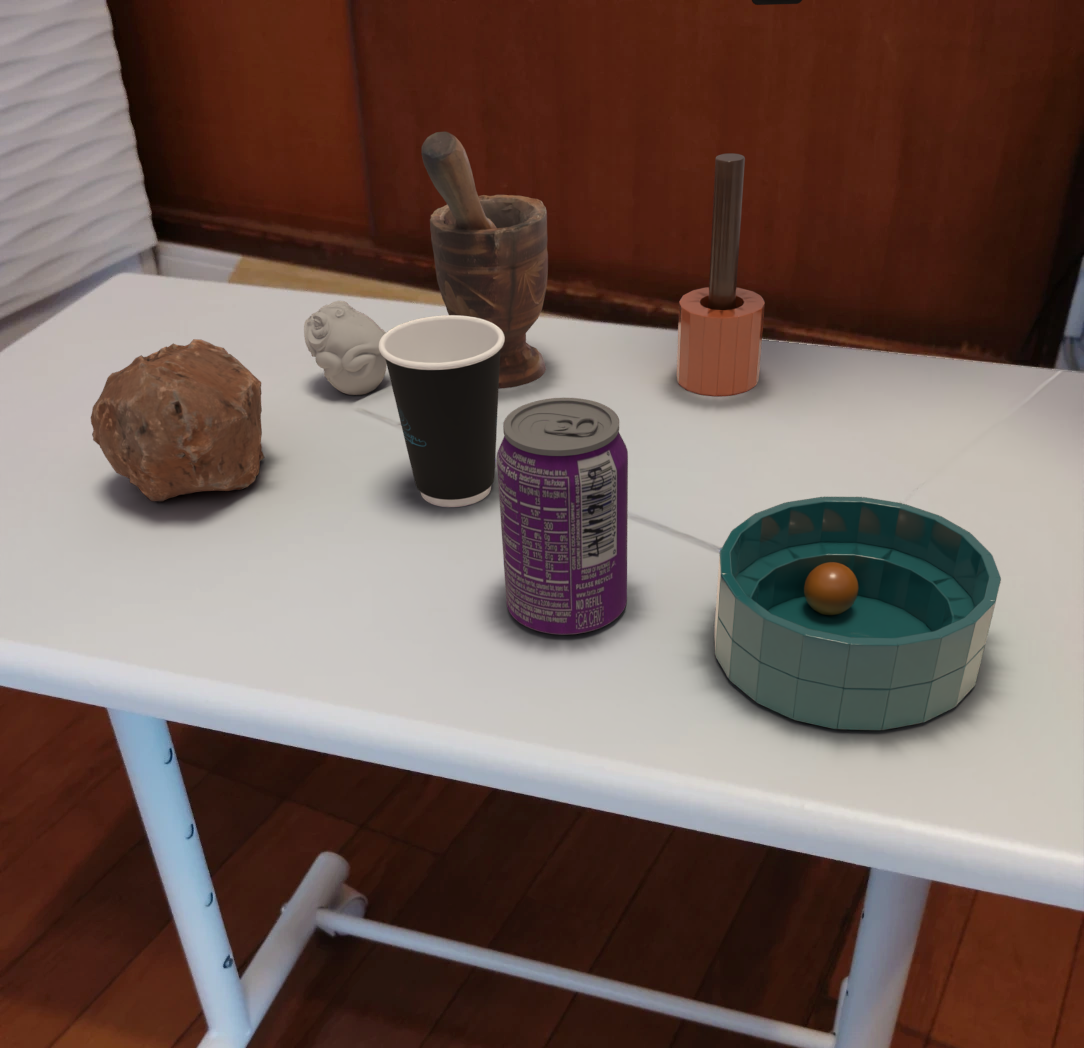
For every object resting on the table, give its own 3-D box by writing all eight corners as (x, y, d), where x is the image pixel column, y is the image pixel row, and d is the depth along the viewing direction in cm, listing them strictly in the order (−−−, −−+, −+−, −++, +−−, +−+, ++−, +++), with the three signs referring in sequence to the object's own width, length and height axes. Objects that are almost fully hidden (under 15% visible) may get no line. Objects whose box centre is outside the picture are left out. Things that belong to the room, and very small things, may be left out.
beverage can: (633, 580, 72) (635, 396, 65) (618, 649, 67) (619, 457, 59) (519, 573, 74) (508, 391, 66) (496, 640, 68) (481, 450, 60)
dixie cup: (375, 506, 81) (352, 350, 73) (441, 457, 86) (425, 306, 79) (473, 534, 77) (459, 373, 70) (535, 481, 82) (528, 326, 75)
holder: (706, 367, 96) (711, 280, 91) (772, 386, 92) (780, 297, 88) (660, 394, 92) (663, 305, 88) (727, 415, 89) (733, 324, 84)
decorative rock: (234, 536, 78) (200, 394, 72) (80, 524, 80) (33, 385, 74) (304, 444, 88) (279, 311, 82) (164, 435, 90) (130, 306, 84)
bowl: (800, 559, 74) (810, 472, 70) (1021, 642, 66) (1046, 550, 62) (663, 669, 66) (666, 577, 62) (896, 778, 58) (916, 682, 54)
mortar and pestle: (549, 421, 89) (537, 135, 77) (435, 423, 90) (405, 139, 77) (554, 358, 98) (545, 92, 85) (451, 360, 99) (426, 96, 86)
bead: (818, 590, 70) (824, 546, 68) (864, 607, 68) (871, 563, 66) (791, 613, 68) (796, 569, 66) (837, 632, 67) (844, 587, 65)
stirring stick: (714, 370, 93) (726, 151, 82) (735, 377, 92) (750, 155, 81) (699, 379, 92) (709, 158, 81) (720, 386, 91) (734, 162, 80)
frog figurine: (339, 370, 98) (326, 286, 94) (412, 382, 96) (402, 296, 91) (298, 401, 94) (282, 314, 89) (374, 414, 92) (361, 326, 87)
